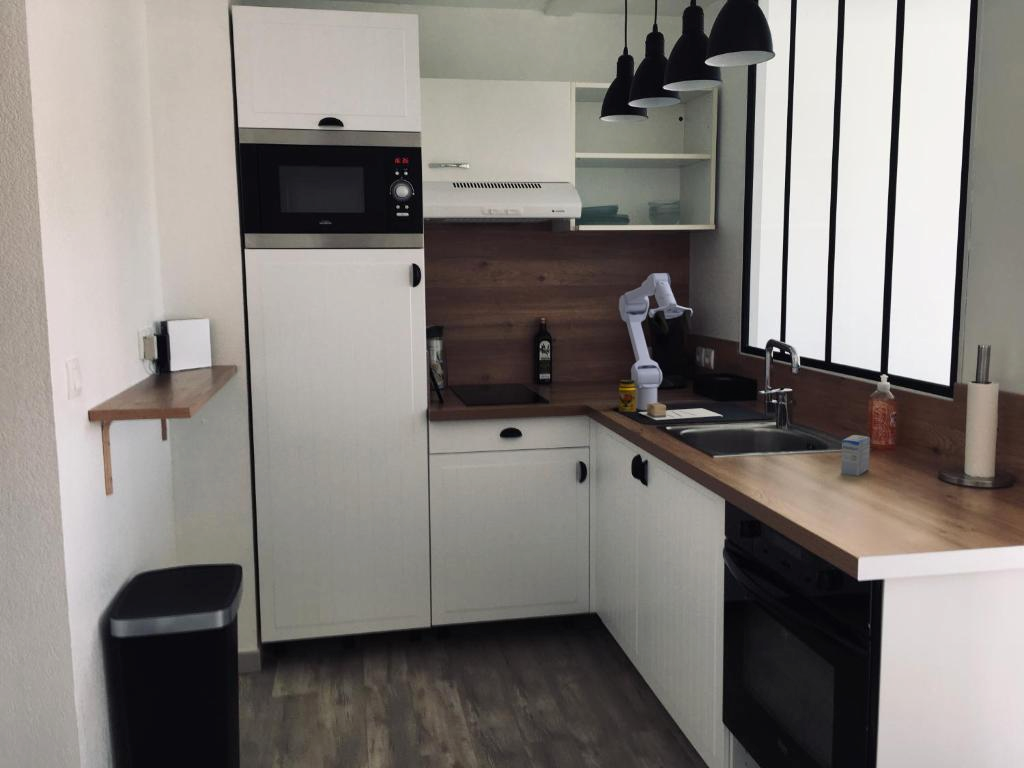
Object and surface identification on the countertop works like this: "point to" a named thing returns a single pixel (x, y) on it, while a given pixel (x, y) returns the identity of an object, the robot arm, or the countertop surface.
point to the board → (685, 414)
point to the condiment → (627, 396)
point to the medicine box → (855, 455)
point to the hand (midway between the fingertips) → (677, 331)
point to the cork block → (656, 410)
